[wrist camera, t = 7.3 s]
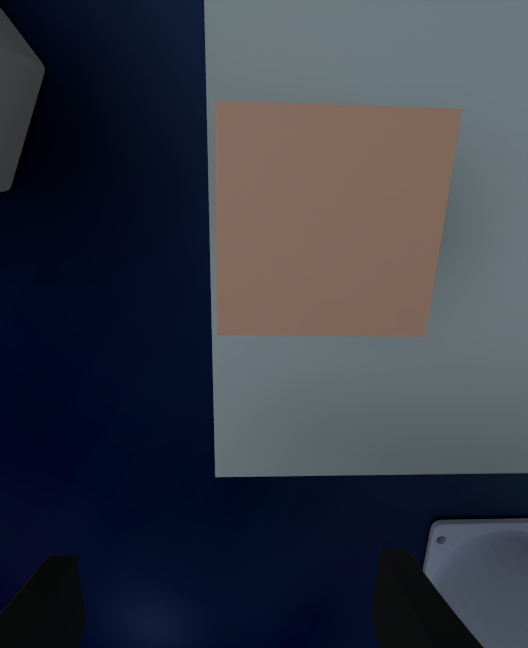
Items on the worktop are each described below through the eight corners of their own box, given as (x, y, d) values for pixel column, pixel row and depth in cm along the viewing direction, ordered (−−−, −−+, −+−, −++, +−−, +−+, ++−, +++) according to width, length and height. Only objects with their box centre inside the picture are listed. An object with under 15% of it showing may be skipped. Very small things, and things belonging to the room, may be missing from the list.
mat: (537, 467, 23) (542, 472, 23) (216, 471, 23) (215, 477, 22) (668, -9, 16) (679, -13, 16) (204, -26, 15) (203, -30, 15)
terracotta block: (367, 276, 15) (425, 336, 10) (225, 274, 15) (216, 334, 10) (384, 121, 13) (462, 109, 8) (224, 116, 13) (214, 100, 8)
